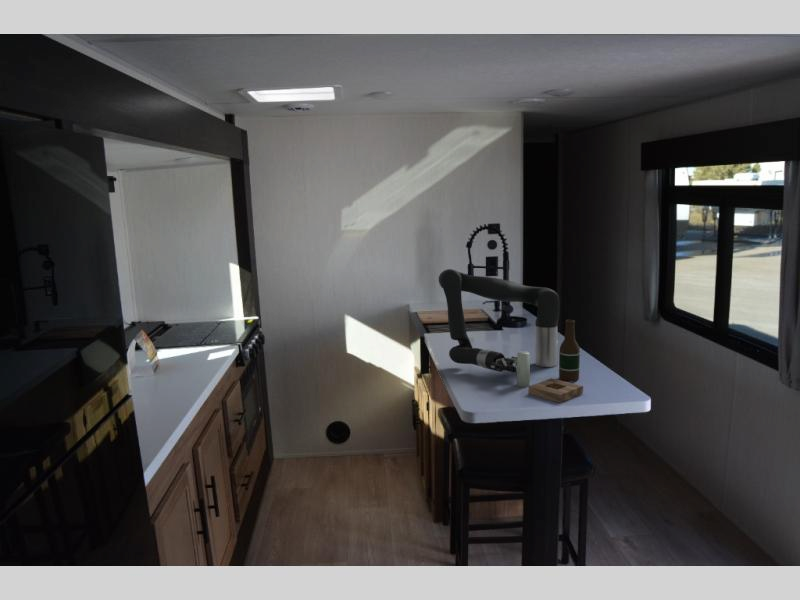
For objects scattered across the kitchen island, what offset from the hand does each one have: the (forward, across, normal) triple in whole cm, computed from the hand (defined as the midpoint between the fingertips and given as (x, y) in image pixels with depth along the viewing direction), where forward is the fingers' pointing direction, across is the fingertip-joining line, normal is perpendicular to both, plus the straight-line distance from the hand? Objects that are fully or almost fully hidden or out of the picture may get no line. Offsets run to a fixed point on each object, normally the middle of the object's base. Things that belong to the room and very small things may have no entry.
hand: (522, 367), depth 237 cm
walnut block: (+15, 0, +7) cm, 17 cm away
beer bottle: (+8, +19, +7) cm, 22 cm away
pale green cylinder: (0, 0, +7) cm, 7 cm away
